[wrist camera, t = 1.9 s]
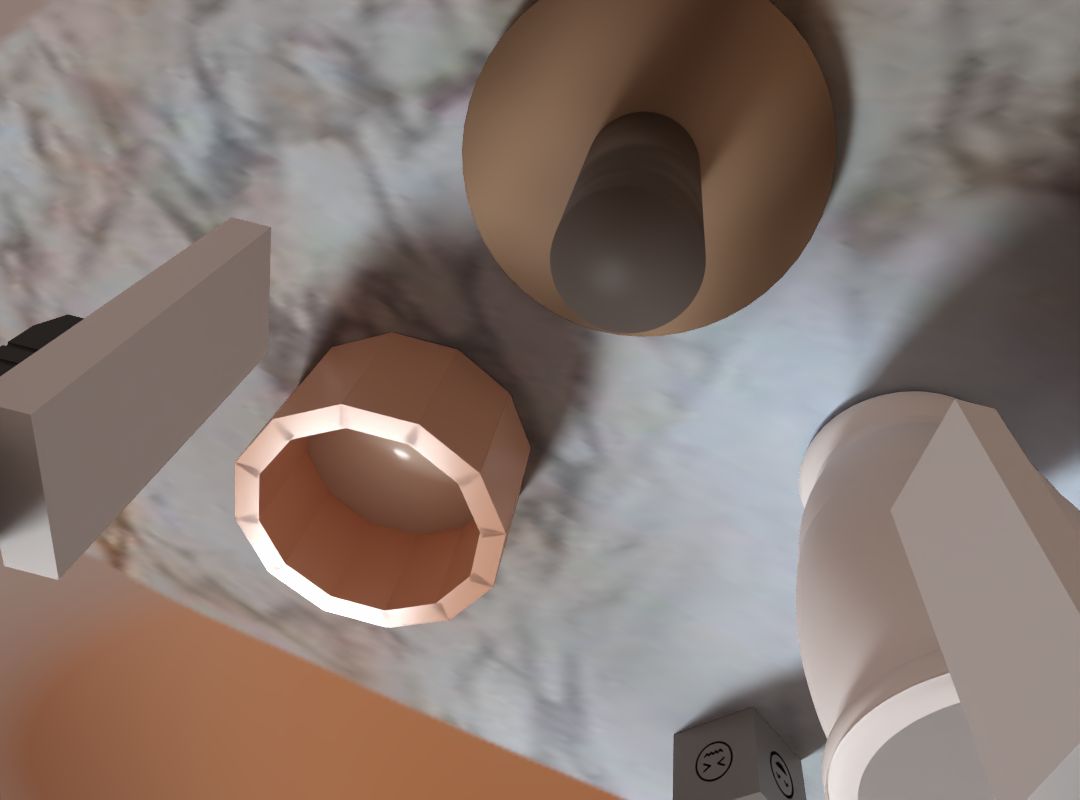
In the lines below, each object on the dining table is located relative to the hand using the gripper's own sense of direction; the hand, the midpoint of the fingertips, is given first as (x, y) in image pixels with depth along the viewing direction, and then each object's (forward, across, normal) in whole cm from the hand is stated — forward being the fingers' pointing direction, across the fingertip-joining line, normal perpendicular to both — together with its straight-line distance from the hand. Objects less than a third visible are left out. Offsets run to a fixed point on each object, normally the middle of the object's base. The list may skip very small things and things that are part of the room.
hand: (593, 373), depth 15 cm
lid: (+16, 0, 0) cm, 16 cm away
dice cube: (+16, -14, +30) cm, 37 cm away
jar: (+16, -14, +10) cm, 24 cm away
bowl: (+16, +6, +15) cm, 23 cm away
